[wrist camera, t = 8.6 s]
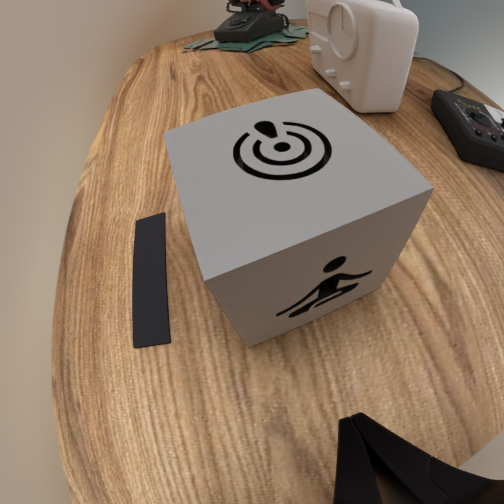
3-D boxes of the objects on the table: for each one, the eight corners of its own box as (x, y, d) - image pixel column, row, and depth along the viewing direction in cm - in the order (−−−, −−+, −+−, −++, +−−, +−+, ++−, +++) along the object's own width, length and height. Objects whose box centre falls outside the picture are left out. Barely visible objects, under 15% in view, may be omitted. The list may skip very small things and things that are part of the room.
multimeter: (428, 107, 30) (434, 79, 26) (513, 134, 27) (521, 113, 22) (460, 161, 24) (473, 128, 20) (547, 189, 20) (561, 166, 16)
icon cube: (206, 233, 22) (162, 132, 14) (315, 192, 23) (318, 88, 15) (248, 347, 17) (204, 281, 9) (379, 287, 18) (434, 187, 10)
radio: (299, 66, 40) (287, -56, 19) (342, 64, 40) (337, -53, 19) (352, 125, 28) (352, -76, 7) (407, 123, 28) (424, -54, 7)
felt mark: (171, 342, 18) (169, 342, 18) (134, 348, 18) (133, 347, 18) (165, 213, 24) (164, 212, 24) (136, 221, 24) (135, 220, 24)
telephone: (249, 23, 70) (241, -24, 53) (334, 30, 58) (331, -27, 41) (172, 53, 58) (154, -6, 41) (269, 56, 45) (257, -30, 28)
